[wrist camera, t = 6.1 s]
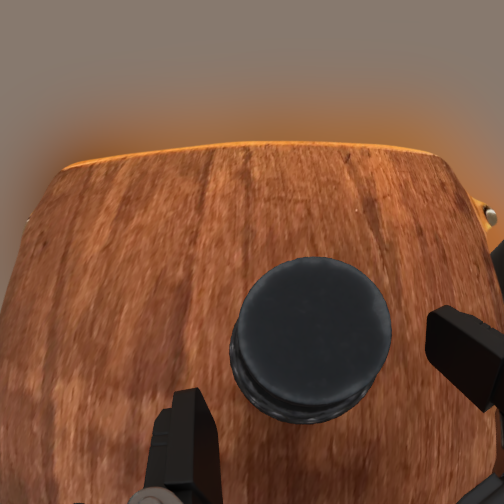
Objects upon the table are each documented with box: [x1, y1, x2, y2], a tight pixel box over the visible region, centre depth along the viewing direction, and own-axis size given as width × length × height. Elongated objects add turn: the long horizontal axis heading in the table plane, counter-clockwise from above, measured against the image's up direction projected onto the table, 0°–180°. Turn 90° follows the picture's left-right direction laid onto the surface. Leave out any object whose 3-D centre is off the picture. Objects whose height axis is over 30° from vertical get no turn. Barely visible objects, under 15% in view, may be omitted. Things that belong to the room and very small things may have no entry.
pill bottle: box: [229, 257, 392, 424], centre depth 13 cm, size 6×6×11 cm
